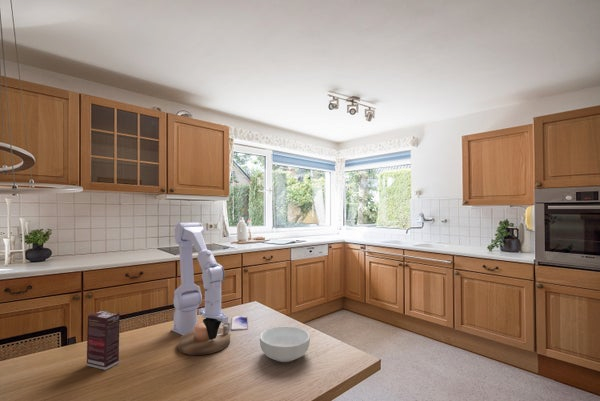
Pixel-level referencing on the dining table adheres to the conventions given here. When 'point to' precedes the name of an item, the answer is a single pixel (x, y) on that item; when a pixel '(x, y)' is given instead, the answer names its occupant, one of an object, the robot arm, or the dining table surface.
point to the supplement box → (103, 339)
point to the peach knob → (200, 332)
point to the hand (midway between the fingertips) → (212, 338)
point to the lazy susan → (204, 343)
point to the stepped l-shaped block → (227, 324)
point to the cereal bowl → (284, 343)
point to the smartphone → (239, 323)
